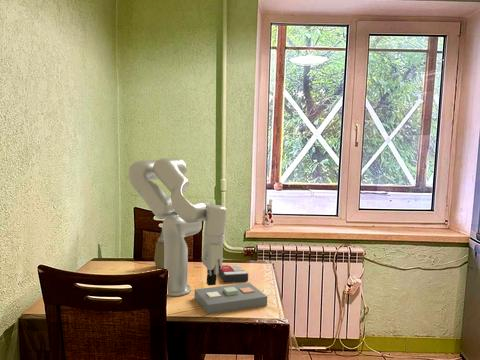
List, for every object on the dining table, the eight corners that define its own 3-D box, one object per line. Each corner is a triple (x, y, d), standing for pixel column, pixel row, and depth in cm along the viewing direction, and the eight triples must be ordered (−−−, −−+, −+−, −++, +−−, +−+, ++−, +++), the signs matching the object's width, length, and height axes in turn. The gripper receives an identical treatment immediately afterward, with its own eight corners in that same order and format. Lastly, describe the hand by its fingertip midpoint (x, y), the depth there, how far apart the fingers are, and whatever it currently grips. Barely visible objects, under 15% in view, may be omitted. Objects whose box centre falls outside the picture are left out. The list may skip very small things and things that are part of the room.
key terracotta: (243, 298, 160) (244, 292, 160) (239, 294, 164) (239, 288, 164) (253, 297, 162) (254, 291, 161) (249, 293, 166) (249, 287, 165)
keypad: (207, 314, 148) (208, 304, 148) (194, 298, 162) (194, 289, 162) (266, 305, 158) (267, 296, 157) (249, 290, 172) (249, 282, 172)
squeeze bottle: (156, 264, 204) (156, 228, 202) (172, 265, 203) (172, 229, 202) (152, 269, 196) (152, 232, 194) (169, 270, 195) (169, 233, 194)
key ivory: (209, 303, 154) (209, 296, 154) (205, 299, 158) (206, 292, 158) (220, 301, 156) (220, 295, 156) (216, 297, 160) (216, 291, 160)
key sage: (227, 298, 157) (227, 291, 157) (223, 294, 161) (223, 287, 161) (237, 296, 159) (237, 290, 158) (233, 292, 163) (233, 286, 162)
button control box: (239, 263, 198) (248, 272, 183) (239, 272, 198) (248, 281, 184) (217, 265, 195) (224, 273, 180) (217, 274, 195) (224, 283, 181)
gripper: (198, 233, 160) (195, 278, 163) (211, 244, 147) (208, 293, 149) (216, 232, 163) (213, 276, 166) (231, 243, 150) (227, 291, 152)
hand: (211, 284), depth 157 cm, fingers closed
